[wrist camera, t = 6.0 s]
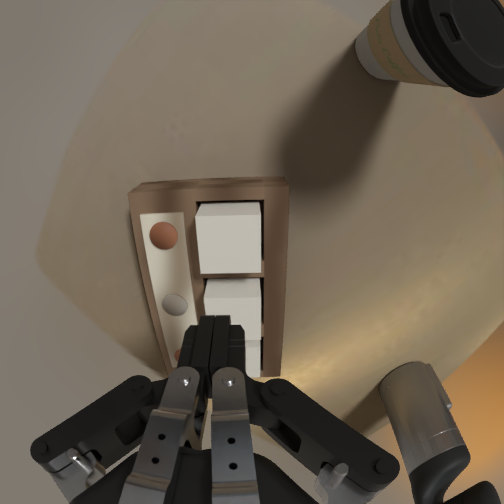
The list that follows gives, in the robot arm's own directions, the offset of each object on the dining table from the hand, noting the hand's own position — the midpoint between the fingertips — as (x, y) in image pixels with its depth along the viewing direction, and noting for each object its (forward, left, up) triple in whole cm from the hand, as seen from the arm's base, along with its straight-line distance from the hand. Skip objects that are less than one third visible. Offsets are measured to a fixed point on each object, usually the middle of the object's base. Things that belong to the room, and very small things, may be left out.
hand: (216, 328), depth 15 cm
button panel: (+2, +7, -17) cm, 18 cm away
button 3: (0, 0, -13) cm, 13 cm away
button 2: (0, +7, -13) cm, 15 cm away
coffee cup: (-15, -18, -17) cm, 29 cm away
